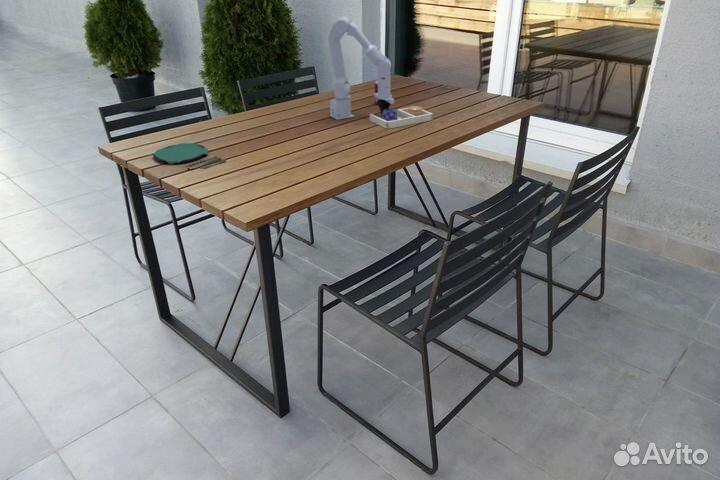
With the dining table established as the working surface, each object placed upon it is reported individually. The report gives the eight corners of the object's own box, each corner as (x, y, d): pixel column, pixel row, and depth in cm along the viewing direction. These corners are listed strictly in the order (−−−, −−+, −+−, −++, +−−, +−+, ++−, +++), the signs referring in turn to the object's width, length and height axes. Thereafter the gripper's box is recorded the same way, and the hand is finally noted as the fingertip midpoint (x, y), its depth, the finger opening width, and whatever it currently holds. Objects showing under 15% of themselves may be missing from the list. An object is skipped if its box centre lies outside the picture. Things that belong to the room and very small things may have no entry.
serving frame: (386, 128, 241) (387, 122, 240) (369, 120, 253) (369, 114, 252) (432, 120, 252) (433, 113, 251) (414, 112, 264) (414, 106, 262)
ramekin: (412, 120, 252) (413, 110, 249) (404, 117, 257) (405, 107, 254) (424, 118, 255) (425, 108, 252) (416, 115, 260) (416, 105, 257)
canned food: (390, 105, 276) (390, 83, 271) (374, 105, 276) (374, 83, 271) (390, 101, 283) (390, 79, 277) (374, 101, 283) (374, 80, 278)
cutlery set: (190, 144, 228) (189, 139, 227) (232, 162, 210) (231, 157, 208) (146, 157, 215) (144, 151, 214) (186, 178, 197) (184, 172, 196)
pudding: (381, 126, 247) (381, 114, 244) (372, 118, 257) (372, 107, 254) (406, 123, 250) (406, 111, 247) (396, 116, 260) (397, 105, 257)
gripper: (400, 88, 246) (399, 118, 252) (383, 82, 257) (383, 110, 263) (386, 90, 243) (386, 120, 249) (370, 84, 254) (370, 113, 261)
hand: (384, 115), depth 256 cm, fingers closed
